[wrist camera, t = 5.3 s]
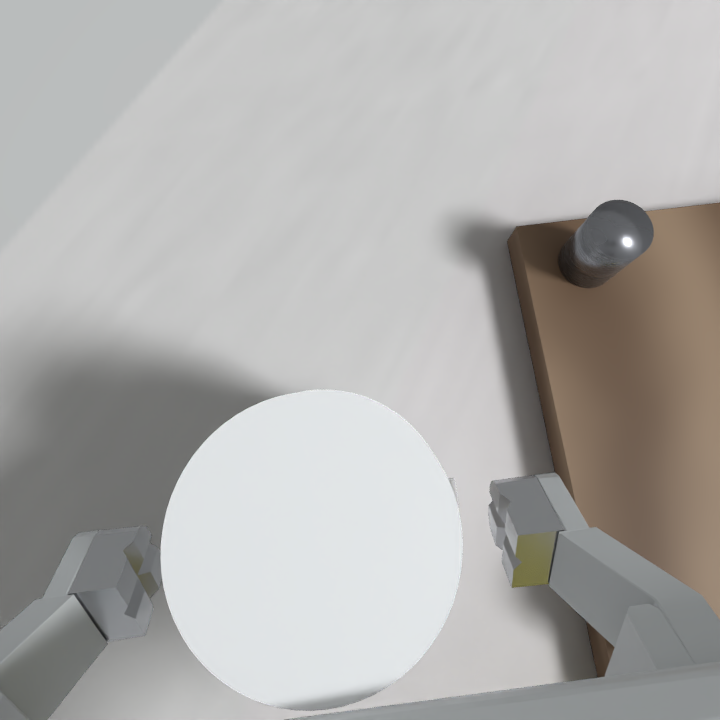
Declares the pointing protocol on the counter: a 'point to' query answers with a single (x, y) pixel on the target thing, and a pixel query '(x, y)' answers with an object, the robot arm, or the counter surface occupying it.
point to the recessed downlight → (312, 550)
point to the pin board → (632, 378)
